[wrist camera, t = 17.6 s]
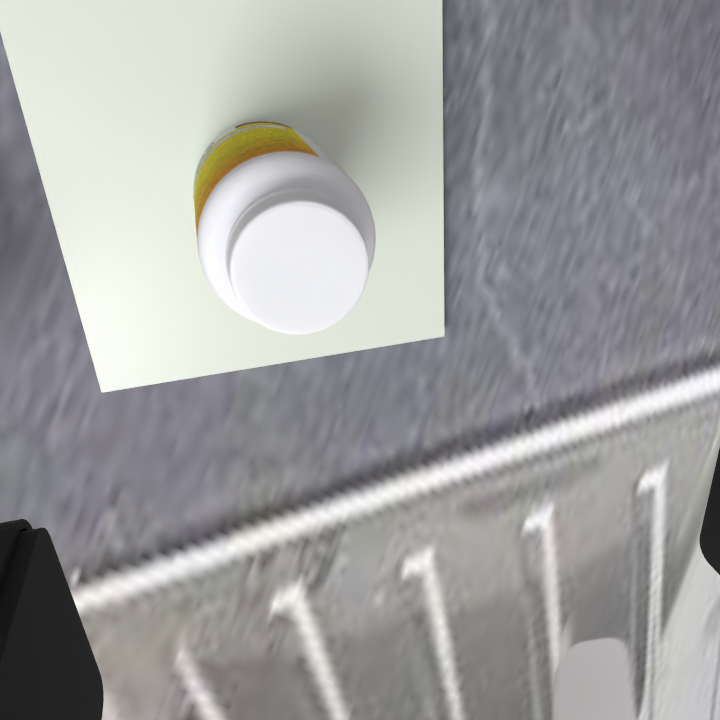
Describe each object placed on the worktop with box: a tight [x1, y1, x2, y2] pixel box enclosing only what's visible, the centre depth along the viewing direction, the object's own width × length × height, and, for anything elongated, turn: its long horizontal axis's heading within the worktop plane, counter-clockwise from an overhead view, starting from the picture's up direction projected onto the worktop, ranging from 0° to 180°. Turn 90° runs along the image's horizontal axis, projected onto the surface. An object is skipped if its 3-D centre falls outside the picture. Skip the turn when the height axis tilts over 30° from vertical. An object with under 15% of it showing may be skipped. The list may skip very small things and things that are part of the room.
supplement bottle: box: [193, 121, 376, 335], centre depth 23 cm, size 6×6×10 cm
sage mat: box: [0, 0, 444, 392], centre depth 28 cm, size 16×16×1 cm
